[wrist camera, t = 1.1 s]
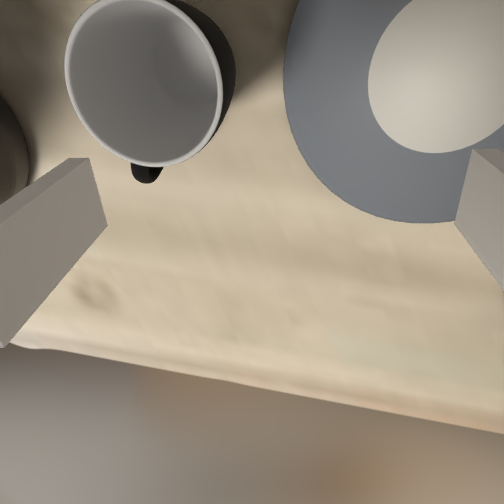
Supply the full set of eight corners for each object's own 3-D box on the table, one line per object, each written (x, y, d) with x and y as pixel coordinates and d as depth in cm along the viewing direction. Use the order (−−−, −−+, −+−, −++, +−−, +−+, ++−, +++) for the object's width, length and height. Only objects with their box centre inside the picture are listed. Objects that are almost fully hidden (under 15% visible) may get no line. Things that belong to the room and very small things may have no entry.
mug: (143, -25, 28) (68, -40, 19) (264, 24, 28) (245, 30, 20) (118, 138, 34) (54, 182, 25) (218, 174, 34) (188, 229, 26)
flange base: (248, 170, 34) (237, 199, 29) (360, -214, 22) (377, -284, 16) (498, 249, 35) (531, 291, 30) (738, -75, 23) (867, -100, 18)
